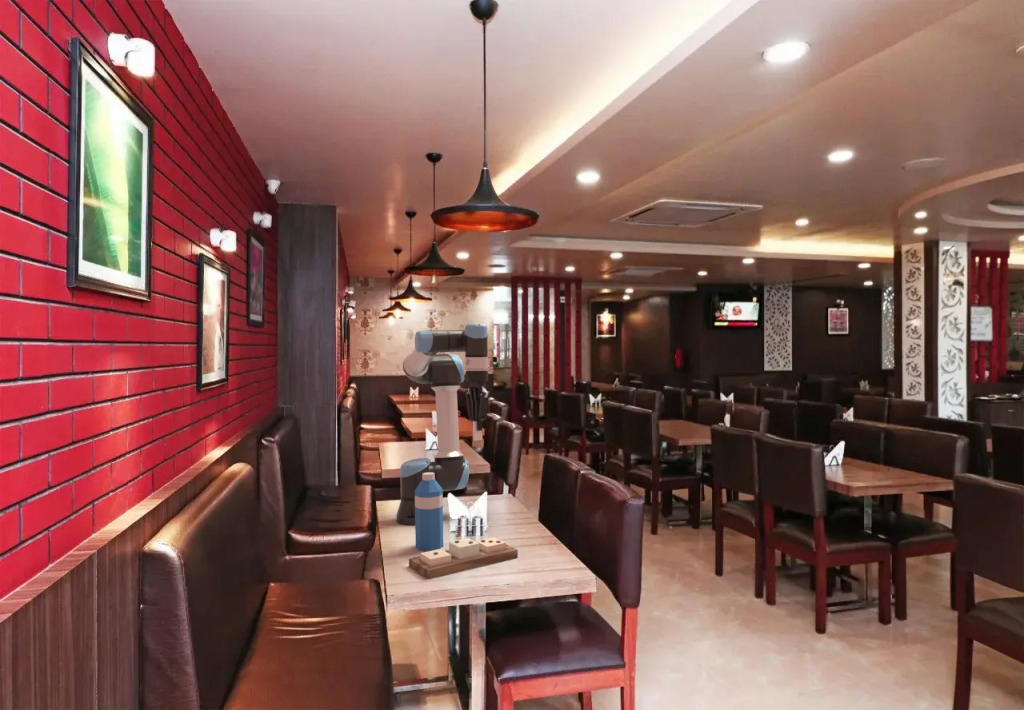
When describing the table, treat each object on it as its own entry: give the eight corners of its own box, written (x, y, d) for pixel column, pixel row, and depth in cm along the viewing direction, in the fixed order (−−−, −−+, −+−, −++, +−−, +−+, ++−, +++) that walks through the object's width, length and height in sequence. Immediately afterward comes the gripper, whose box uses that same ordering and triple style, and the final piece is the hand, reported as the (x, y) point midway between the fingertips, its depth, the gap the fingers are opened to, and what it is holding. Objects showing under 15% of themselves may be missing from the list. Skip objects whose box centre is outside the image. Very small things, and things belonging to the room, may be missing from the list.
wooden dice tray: (409, 566, 203) (408, 558, 203) (495, 546, 221) (495, 539, 221) (428, 578, 192) (428, 570, 192) (517, 557, 210) (517, 549, 210)
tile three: (476, 553, 213) (475, 540, 213) (494, 549, 217) (494, 536, 217) (487, 559, 207) (487, 545, 207) (505, 554, 211) (505, 541, 211)
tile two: (449, 554, 208) (448, 540, 207) (468, 550, 212) (467, 536, 211) (460, 560, 202) (459, 546, 202) (479, 555, 206) (479, 542, 206)
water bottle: (449, 545, 223) (447, 472, 223) (431, 553, 216) (429, 477, 215) (428, 541, 229) (426, 469, 228) (409, 548, 221) (408, 474, 220)
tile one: (420, 566, 202) (420, 552, 202) (440, 561, 206) (440, 547, 206) (431, 572, 196) (430, 558, 196) (451, 567, 200) (451, 553, 200)
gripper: (457, 369, 222) (458, 438, 223) (477, 370, 211) (478, 443, 212) (476, 368, 226) (477, 436, 227) (496, 370, 216) (497, 441, 216)
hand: (477, 440), depth 219 cm, fingers closed
